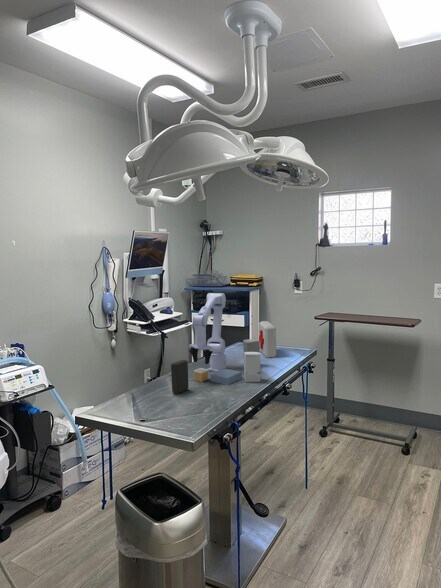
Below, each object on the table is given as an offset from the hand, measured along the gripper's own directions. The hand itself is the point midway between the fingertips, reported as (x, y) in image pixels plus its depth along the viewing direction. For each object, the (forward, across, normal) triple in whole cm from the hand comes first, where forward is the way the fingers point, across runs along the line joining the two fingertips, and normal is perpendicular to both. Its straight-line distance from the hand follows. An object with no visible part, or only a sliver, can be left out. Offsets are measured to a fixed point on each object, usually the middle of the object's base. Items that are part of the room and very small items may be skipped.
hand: (201, 362), depth 231 cm
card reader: (+10, +1, -20) cm, 22 cm away
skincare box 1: (+10, +10, +36) cm, 39 cm away
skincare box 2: (+10, +24, +13) cm, 29 cm away
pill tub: (+10, -1, 0) cm, 10 cm away
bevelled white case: (+9, +4, +65) cm, 66 cm away
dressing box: (+10, +11, +7) cm, 16 cm away
